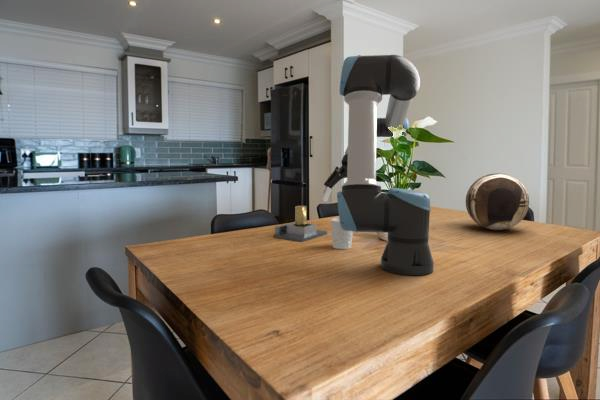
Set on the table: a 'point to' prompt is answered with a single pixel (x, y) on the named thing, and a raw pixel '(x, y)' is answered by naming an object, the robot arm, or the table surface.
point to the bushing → (301, 216)
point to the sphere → (497, 201)
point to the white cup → (340, 236)
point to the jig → (297, 232)
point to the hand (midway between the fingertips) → (333, 202)
